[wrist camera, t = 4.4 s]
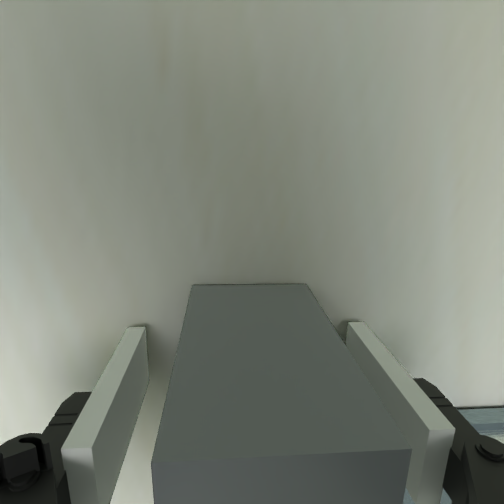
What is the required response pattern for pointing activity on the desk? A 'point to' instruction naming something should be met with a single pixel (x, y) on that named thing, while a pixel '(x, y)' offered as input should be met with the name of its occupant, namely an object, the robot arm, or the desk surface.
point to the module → (272, 408)
